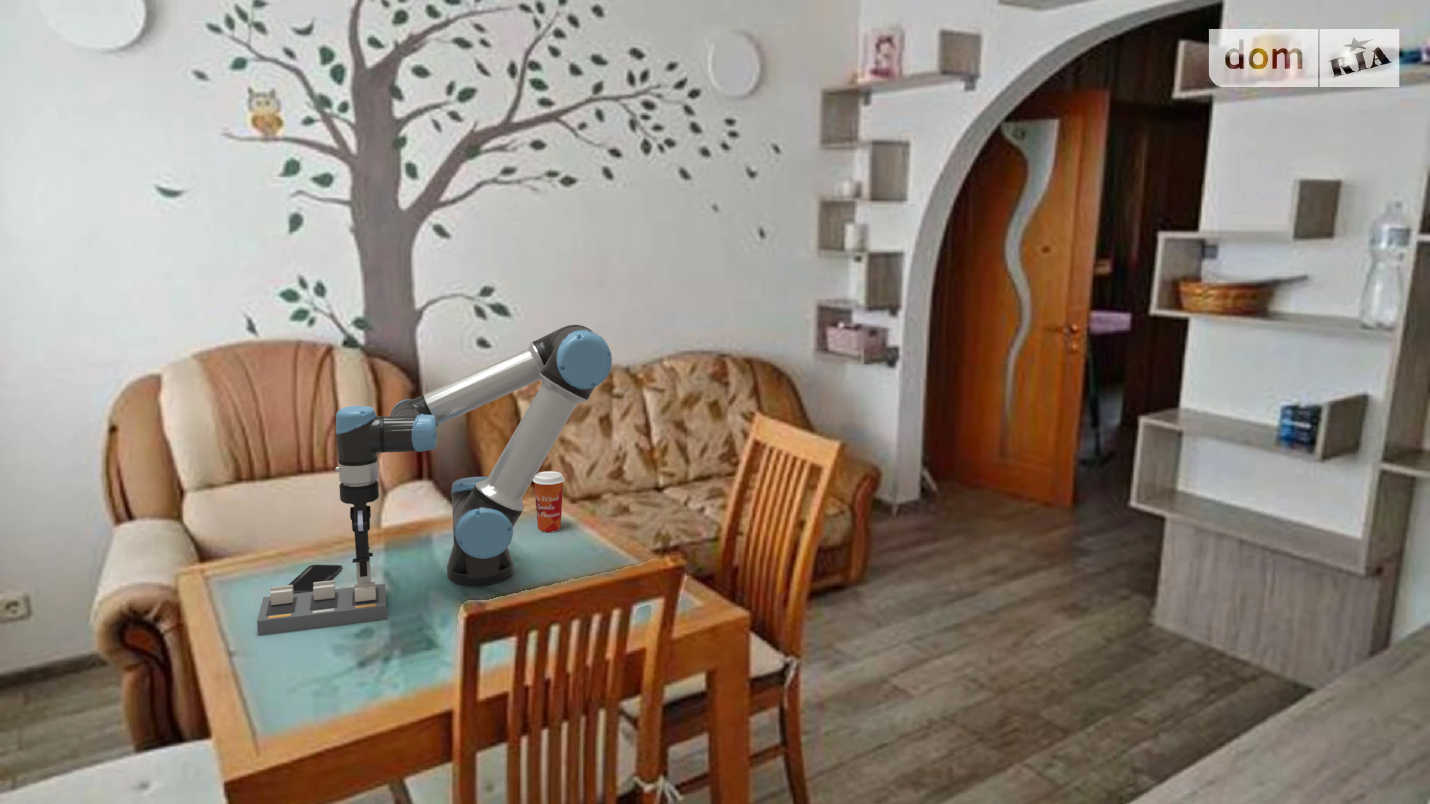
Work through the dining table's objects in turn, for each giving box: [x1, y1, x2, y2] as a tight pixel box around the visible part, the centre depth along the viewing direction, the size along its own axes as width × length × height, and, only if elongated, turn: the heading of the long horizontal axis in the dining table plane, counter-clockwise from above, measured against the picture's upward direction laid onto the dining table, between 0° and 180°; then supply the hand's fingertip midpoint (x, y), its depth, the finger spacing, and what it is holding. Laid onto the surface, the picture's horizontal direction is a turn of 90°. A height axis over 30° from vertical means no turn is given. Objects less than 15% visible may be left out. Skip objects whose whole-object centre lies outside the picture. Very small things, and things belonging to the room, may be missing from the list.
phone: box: [288, 564, 344, 594], centre depth 206 cm, size 8×1×15 cm
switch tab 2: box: [313, 579, 336, 600], centre depth 190 cm, size 4×3×3 cm
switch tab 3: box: [353, 581, 376, 602], centre depth 190 cm, size 4×3×3 cm
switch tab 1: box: [269, 584, 294, 605], centre depth 187 cm, size 4×3×3 cm
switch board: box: [256, 583, 388, 636], centre depth 189 cm, size 24×12×3 cm, turn 111°
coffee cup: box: [532, 470, 566, 533], centre depth 242 cm, size 8×8×15 cm
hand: (364, 588), depth 192 cm, fingers closed
